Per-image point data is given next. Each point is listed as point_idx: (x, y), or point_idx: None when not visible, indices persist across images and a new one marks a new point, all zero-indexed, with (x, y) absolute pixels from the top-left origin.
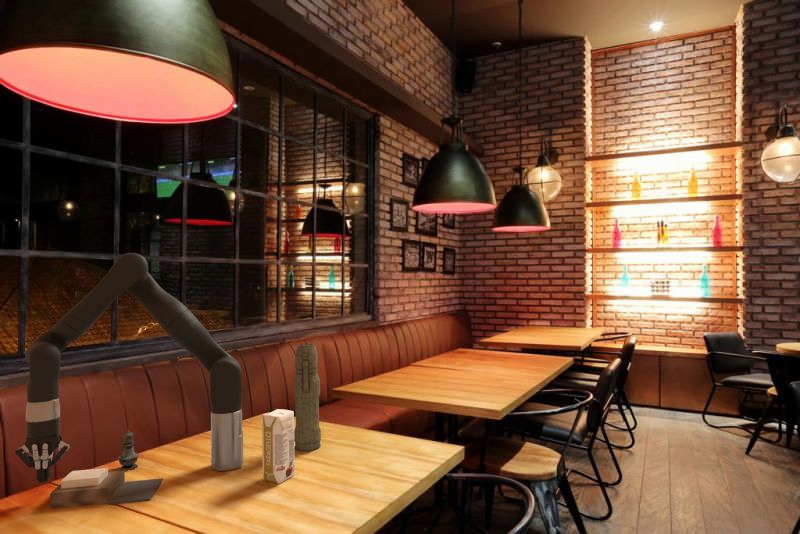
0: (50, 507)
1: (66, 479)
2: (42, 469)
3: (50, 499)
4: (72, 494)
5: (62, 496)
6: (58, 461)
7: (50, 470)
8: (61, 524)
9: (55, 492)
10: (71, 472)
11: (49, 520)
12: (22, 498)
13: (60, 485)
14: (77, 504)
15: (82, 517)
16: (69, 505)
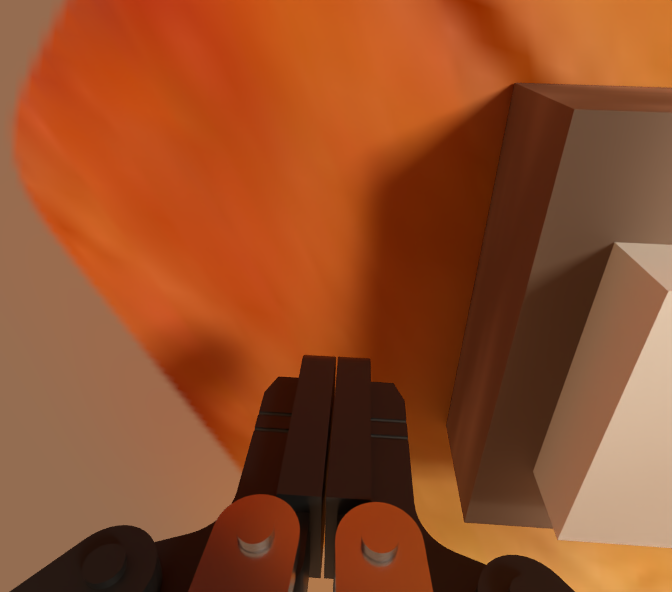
0: (448, 432)
1: (609, 522)
2: (332, 575)
3: (457, 479)
4: None
5: None
6: (561, 588)
7: (409, 472)
8: None
9: (503, 523)
10: (659, 348)
11: (483, 538)
12: (131, 181)
13: (512, 406)
14: None
15: (647, 553)
16: None
